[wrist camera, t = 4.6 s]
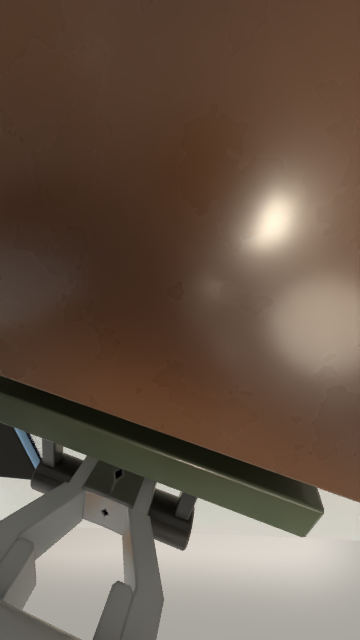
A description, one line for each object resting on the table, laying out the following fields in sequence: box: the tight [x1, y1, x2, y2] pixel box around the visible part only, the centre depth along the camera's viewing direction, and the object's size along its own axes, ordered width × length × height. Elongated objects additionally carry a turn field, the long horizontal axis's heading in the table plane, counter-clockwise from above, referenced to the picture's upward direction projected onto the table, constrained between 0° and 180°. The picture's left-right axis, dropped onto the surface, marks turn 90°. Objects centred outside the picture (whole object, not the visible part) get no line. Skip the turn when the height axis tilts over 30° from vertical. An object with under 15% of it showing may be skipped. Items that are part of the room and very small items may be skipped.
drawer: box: [0, 376, 324, 551], centre depth 9 cm, size 19×11×8 cm, turn 167°
